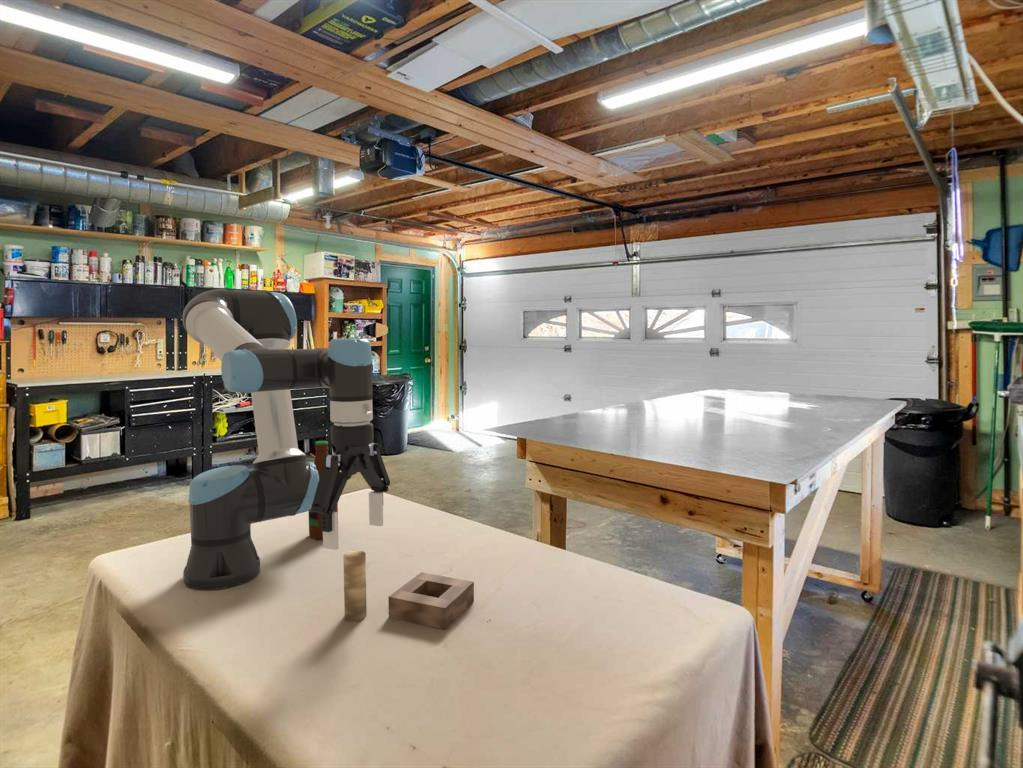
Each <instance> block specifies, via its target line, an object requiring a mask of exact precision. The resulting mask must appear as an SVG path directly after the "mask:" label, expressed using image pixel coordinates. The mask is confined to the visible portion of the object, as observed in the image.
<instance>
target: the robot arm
mask: <svg viewBox="0 0 1023 768" xmlns="http://www.w3.org/2000/svg"><path fill="white" fill-rule="evenodd" d="M181 317H182V325H183V328H184V329H185V331H186V333H187V334H188V335H189V337H191V338H192V339H193V340H194V341H196V342H198V343H200V344H203V345H205V346H206V347H207V348H208V349H209V350H210V351H211V353H212V354H213V355H214V356H216V358H218V360H219V361H220V362H221V365H220V367H221V369H220V371H221V379H222V382H223V385H224V387H225V389H226V390H227V391H229V392H231V393H246V394H250V395H251V402H252V409H253V419H254V426H255V432H256V439H257V449H258V456H257V457H256V459H254V460H253V462H252V467H253V470H250V469H249V468H248V466H247V465H242V464H234V465H231V466H230V465H226V466H220V467H217V468H215V467H214V468H212V469H209V470H206V471H204V472H201V473H199V474H198V475H196V476H195V477H193V478H192V479H191V481H190V483H189V487H188V488H189V490H188V491H189V492H188V499H187V500H188V504H189V517H190V519H189V525H190V541H191V543H190V544H191V545H190V550H189V553H188V556H187V560H186V565H185V567H184V569H183V574H182V575H183V584H184V585H185V587H187V588H189V589H191V590H192V589H193V590H199V591H211V590H221V589H227V588H231V587H235V586H239V585H242V584H244V583H246V582H249V581H251V580H252V579H254V578H256V577H257V576H258V575H259V574H260V572H261V570H262V569H261V567H262V566H261V558H260V556H259V555H258V551H257V549H256V547H255V544H254V541H253V540H252V534H251V532H252V531H251V529H252V527H251V526H252V524H256V523H261V522H266V521H271V520H276V519H281V518H287V517H293V516H296V515H298V514H302V513H306V512H309V510H310V509H311V511H312V512H319V513H320V514H321V530H322V531H323V540H322V548H323V549H326V550H334V551H337V550H339V549H340V548H339V511H338V512H334V510H335V508H336V505H337V503H338V504H339V500H340V499H341V496H342V494H343V491H344V489H345V487H346V485H347V482H348V480H350V479H351V478H352V476H354V475H356V474H358V473H360V475H361V476H362V478H363V479H364V480H365V482H366V483H367V485H368V486H369V488H370V489H371V491H369V492H368V515H369V526H374V527H375V526H376V527H382V526H383V527H384V507H383V506H384V493H387V492H388V491H389V486H390V485H391V479H390V477H389V475H388V472H387V469H386V466H385V463H384V460H383V457H382V455H381V446H380V443H378V442H377V443H376V442H374V438H375V437H374V436H375V435H374V424H373V423H372V420H374V417H373V415H374V414H373V413H374V411H373V408H374V407H373V362H374V359H373V356H372V345H371V342H370V341H369V339H366V338H333V339H332V338H331V340H330V341H329V342H328V348H327V347H321V348H320V347H315V348H297V349H293V348H292V349H291V348H290V349H288V348H289V347H290V345H291V340H292V339H294V337H295V336H296V333H297V324H298V322H297V320H298V319H297V314H296V310H295V308H294V305H293V303H292V301H291V300H290V299H289V297H288V296H286V295H285V294H283V293H282V292H275V291H269V290H262V291H261V290H242V289H225V288H223V289H222V288H218V289H216V288H215V289H210V290H207V291H204V292H201V293H199V294H198V295H195V296H194V297H193V298H192V299H190V301H189V302H188V303H187V304H186V305H185V307H184V309H183V312H182V316H181ZM320 388H321V389H322V388H327V389H329V413H330V414H329V416H330V417H329V419H330V422H331V423H333V424H332V425H331V426H330V442H331V445H332V446H334V448H335V453H334V454H328V455H324V456H323V465H322V471H321V475H320V478H319V474H318V470H316V466H315V464H314V462H311V461H307V454H306V453H304V452H303V451H302V450H301V449H299V444H298V438H297V431H296V424H295V423H296V422H295V417H294V409H293V401H292V396H291V395H292V393H291V390H304V389H320ZM319 504H320V505H319ZM329 504H330V505H329ZM328 505H329V506H328Z"/></svg>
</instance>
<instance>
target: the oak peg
mask: <svg viewBox="0 0 1023 768" xmlns="http://www.w3.org/2000/svg"><path fill="white" fill-rule="evenodd" d="M366 555H367V554H366V551H364V550H349V551H347V552H345V553H344V554H343V596H344V597H343V598H344V600H343V601H344V619H345V620H346V621H348V622H359V621H361V620H364V619H366V617H367V615H368V613H367V611H368V609H367V608H368V607H367V569H366V568H367V566H366V565H367V564H366V563H367V560H366V559H367V558H366V557H367V556H366Z"/></svg>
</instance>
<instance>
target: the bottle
mask: <svg viewBox="0 0 1023 768" xmlns="http://www.w3.org/2000/svg"><path fill="white" fill-rule="evenodd" d="M314 444H315V447H314V448H315V449H314V450H315V454H314V462H313V463H314V464H315V466H316V470H318V474H319V478H320V475H321V471H322V465H323V456H324V455H329V452H328V450H329V446H328V445H329V442H328V441H327V440H317V441H315V443H314ZM338 504H339V502H338V503H337V505H336V508H335V510H334V512H338V513H339V509H338V508H339V505H338ZM319 505H320V504H319ZM329 505H330V504H329ZM329 505H328V506H329ZM308 534H309V537H310V538H312V539H313V540H319V541H320V540H322V541H323V531H322V530H321V514H320V513H319V512H312V511H311V509H310V510H309V511H308Z"/></svg>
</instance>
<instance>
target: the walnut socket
mask: <svg viewBox="0 0 1023 768" xmlns="http://www.w3.org/2000/svg"><path fill="white" fill-rule="evenodd" d="M474 601H475V581H471V580H466V579H460V578H456V577H450V576H444V575H437V574H432V573H428V572H419V573H418V574H417V575H415V576H414V577H413V578H411V579H410V580H409V581H407V582H406V583H405V584H404V585H402V586H401V587H400V588H398V589H397V590H395V591H394V592H393V593H391V594H390V595H389V596H388V618H392V619H396V620H400V621H406V622H409V623H414V624H419V625H422V626H428V627H431V628H432V627H433V628H438V629H441V630H442V629H443V630H447V628H448V627H449V626H450V625H451V624H452V623H453V622H455V620H457V618H459V616H461V614H462V613H464V612H465V610H467V609H468V608H469V606H470V605H471V604H473V603H474Z"/></svg>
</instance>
